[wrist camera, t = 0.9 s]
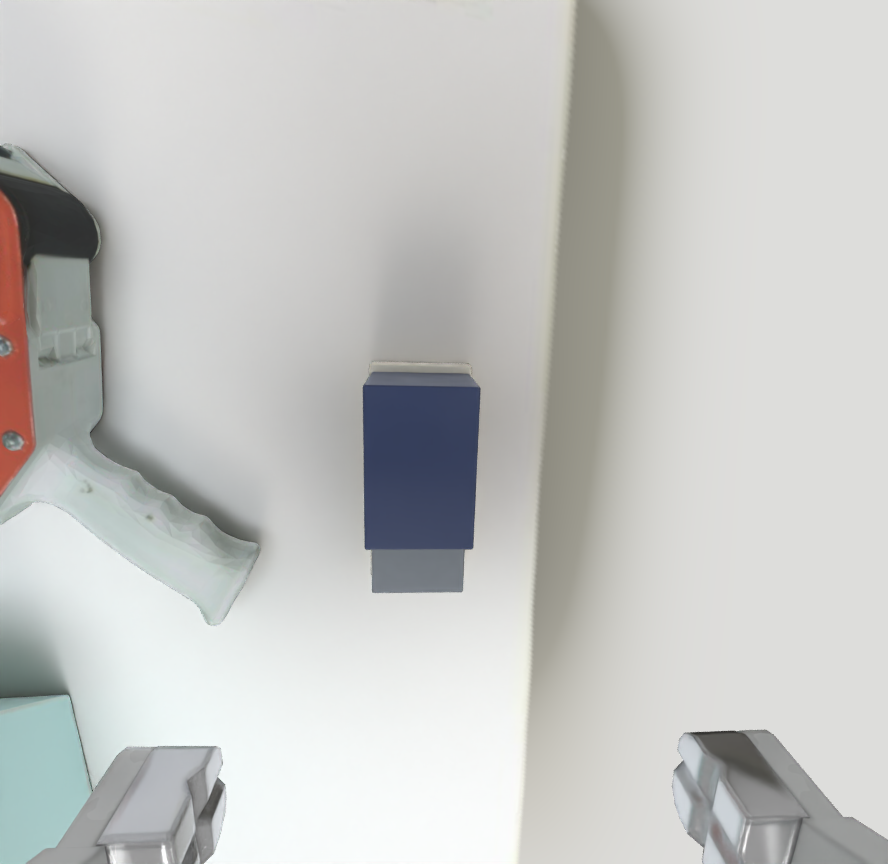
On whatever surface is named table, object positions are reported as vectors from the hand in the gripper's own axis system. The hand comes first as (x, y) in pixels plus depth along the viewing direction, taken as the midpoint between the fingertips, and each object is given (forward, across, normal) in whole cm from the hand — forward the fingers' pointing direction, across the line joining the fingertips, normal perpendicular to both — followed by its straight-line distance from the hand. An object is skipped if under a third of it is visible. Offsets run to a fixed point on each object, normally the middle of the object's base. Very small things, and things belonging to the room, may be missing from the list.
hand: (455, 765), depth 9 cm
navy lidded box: (+15, 0, 0) cm, 16 cm away
